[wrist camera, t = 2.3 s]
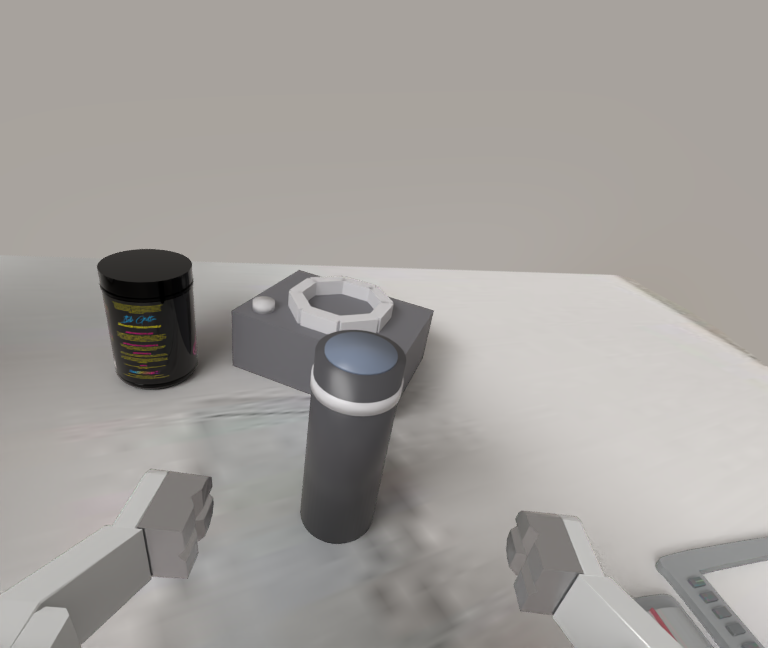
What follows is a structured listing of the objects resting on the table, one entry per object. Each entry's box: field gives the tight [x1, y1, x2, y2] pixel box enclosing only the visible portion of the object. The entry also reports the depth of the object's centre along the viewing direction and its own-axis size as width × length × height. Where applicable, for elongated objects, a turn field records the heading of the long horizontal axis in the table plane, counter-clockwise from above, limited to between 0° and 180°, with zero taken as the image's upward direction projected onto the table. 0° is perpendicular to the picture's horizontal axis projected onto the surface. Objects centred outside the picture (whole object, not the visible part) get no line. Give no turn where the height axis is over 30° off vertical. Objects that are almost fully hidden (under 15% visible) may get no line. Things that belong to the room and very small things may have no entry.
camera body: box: [232, 270, 434, 395], centre depth 44 cm, size 16×12×8 cm
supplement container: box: [97, 249, 198, 389], centre depth 38 cm, size 7×7×10 cm
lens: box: [300, 330, 406, 544], centre depth 27 cm, size 5×5×13 cm
